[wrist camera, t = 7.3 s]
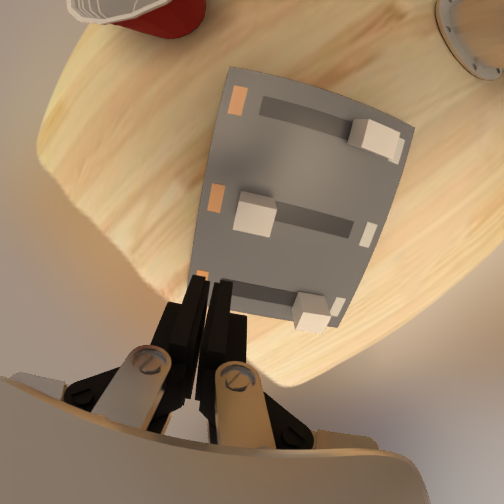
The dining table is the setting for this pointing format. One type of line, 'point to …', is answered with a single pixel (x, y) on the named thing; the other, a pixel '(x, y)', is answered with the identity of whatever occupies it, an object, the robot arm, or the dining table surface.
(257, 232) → the switch
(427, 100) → the dining table surface
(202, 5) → the plastic cup
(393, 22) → the dining table surface
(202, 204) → the switch panel
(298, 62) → the dining table surface
